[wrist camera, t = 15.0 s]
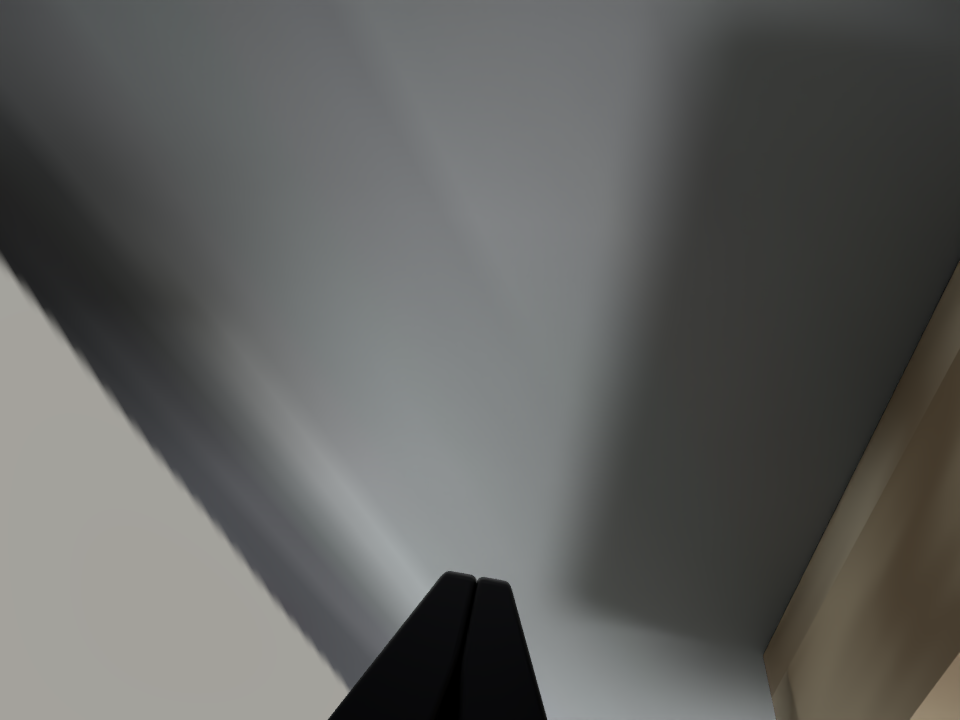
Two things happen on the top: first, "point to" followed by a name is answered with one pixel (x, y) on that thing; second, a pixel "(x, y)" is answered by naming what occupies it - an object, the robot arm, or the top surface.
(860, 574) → the tray
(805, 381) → the top surface
